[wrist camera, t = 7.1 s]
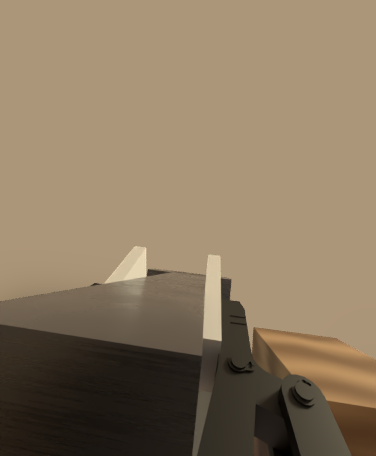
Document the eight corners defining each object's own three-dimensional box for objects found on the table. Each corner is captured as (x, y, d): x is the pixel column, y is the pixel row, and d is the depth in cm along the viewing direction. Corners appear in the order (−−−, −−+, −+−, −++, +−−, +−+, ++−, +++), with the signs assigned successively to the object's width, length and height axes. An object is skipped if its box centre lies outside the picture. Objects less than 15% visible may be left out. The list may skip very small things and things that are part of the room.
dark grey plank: (492, 893, 2) (458, 397, 3) (-360, 598, 3) (-234, 286, 4) (225, 308, 30) (228, 277, 30) (151, 298, 30) (155, 268, 31)
